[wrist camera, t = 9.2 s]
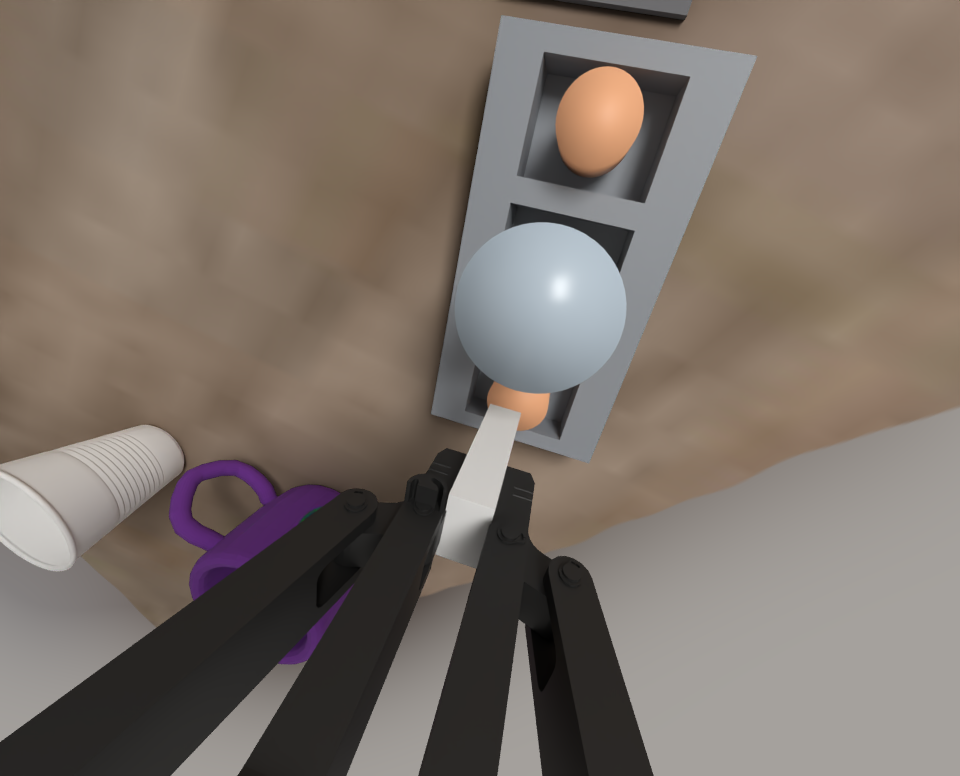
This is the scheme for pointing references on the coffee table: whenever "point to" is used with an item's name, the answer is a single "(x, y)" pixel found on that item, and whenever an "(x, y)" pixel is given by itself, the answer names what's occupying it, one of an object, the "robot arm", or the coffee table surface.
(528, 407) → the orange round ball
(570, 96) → the orange oval ball
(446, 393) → the tray
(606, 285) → the cylinder
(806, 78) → the coffee table surface
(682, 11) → the mat
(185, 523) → the mug
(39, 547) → the cup
